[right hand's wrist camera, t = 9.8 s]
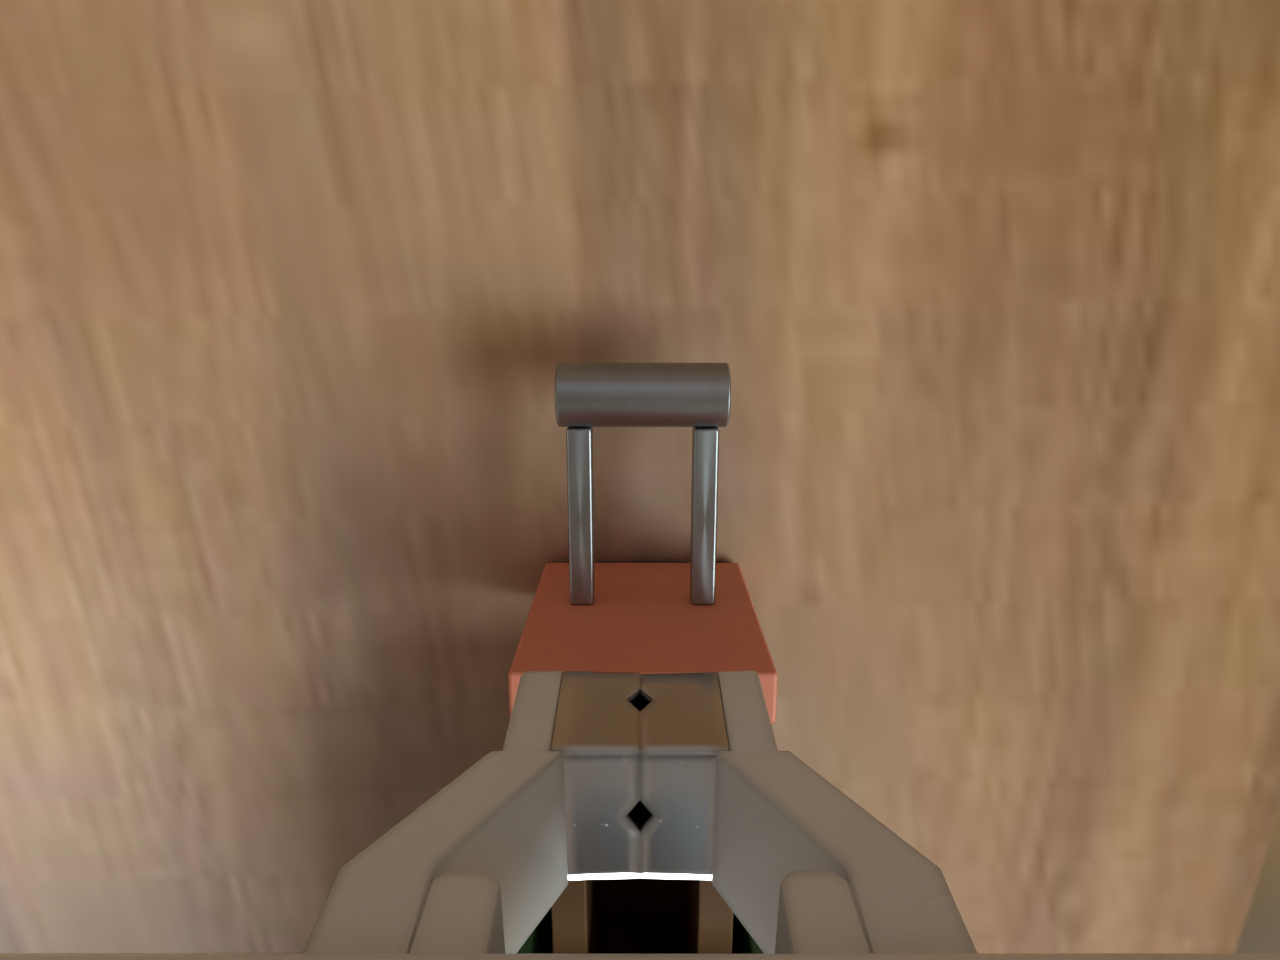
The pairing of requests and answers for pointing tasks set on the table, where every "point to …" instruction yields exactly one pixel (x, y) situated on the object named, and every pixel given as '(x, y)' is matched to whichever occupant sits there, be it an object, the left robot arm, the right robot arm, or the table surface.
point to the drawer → (643, 628)
